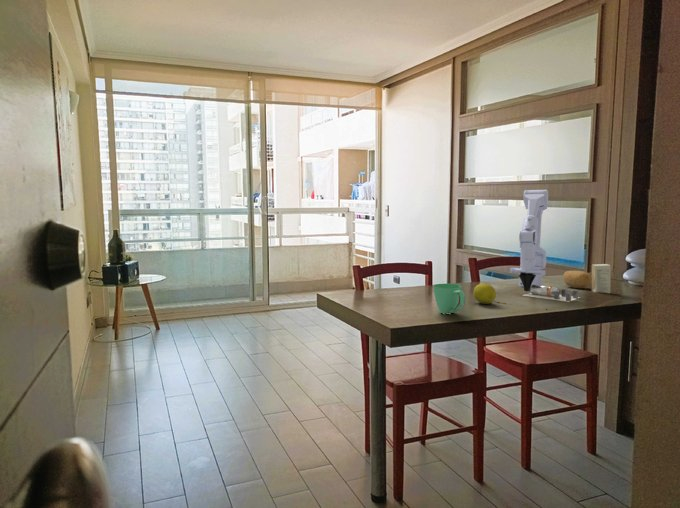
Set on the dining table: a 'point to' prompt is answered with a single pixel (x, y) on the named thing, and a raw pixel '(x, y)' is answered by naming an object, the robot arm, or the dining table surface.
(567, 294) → the collar
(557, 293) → the collar
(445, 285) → the mug
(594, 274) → the skincare box
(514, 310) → the dining table surface
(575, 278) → the potato
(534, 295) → the board
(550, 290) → the tube
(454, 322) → the dining table surface
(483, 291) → the lemon
